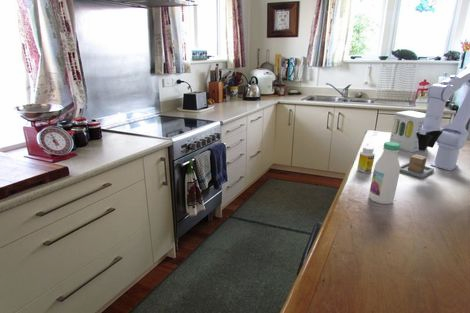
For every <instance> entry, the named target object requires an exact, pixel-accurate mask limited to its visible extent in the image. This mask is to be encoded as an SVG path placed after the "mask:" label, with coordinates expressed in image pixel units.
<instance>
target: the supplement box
mask: <svg viewBox="0 0 470 313" xmlns="http://www.w3.org/2000/svg"><path fill="white" fill-rule="evenodd" d="M425 115H426V112H425V113H424V112H420V111H415V110H403V111H397V112H394V118H393V122H392V127H391V133H390V138H389V142H394V143H398V144H399V145H400V148H399V150H402V151H403V150H404V151H406V152H410V153H414V152H419V151H421V150H419V146H418V138H417V135H416V133H417V132H420V129H422V125H423V123H424V119H425ZM426 150H428V147H427V148H426Z"/></svg>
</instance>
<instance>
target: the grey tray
mask: <svg viewBox="0 0 470 313" xmlns="http://www.w3.org/2000/svg"><path fill="white" fill-rule="evenodd" d="M409 162H410V161H407V162H405V163H404V164H400V174H401V173H402V174H404V175H407V176H410V177H414V178H417V179H421V180H423V179H424V178H426V177H427V176H429V175H431V174H432V173H434V171H435V168H433V167H430V166H426V165H425V168H424V171H422V172H421V173H416V172H413V171H410V170H408V166H409Z"/></svg>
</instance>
